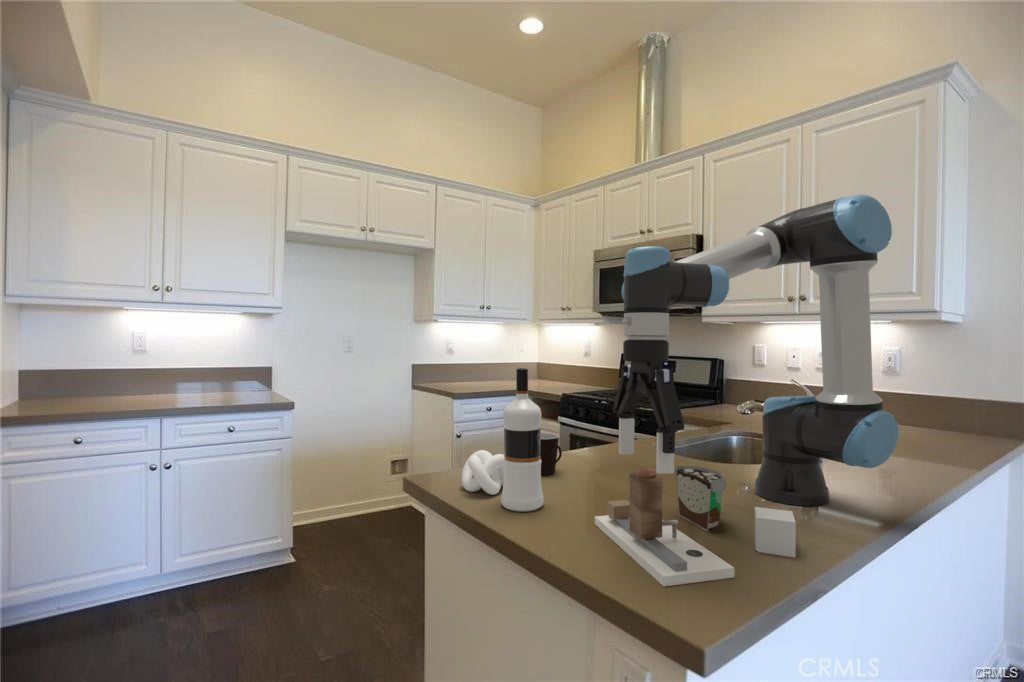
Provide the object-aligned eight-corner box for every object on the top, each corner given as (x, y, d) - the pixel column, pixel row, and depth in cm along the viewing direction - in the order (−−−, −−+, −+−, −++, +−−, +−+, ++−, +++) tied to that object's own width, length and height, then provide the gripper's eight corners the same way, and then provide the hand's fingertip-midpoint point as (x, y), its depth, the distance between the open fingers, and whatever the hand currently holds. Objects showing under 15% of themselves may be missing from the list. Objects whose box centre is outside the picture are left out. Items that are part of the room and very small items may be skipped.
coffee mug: (524, 469, 143) (524, 433, 143) (555, 468, 144) (555, 432, 144) (531, 481, 132) (531, 442, 131) (564, 480, 133) (564, 441, 132)
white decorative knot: (499, 481, 132) (499, 446, 132) (520, 494, 121) (520, 455, 121) (457, 486, 127) (457, 450, 127) (475, 500, 116) (475, 461, 116)
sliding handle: (670, 533, 92) (671, 465, 92) (683, 541, 88) (683, 470, 88) (629, 537, 90) (629, 467, 90) (640, 546, 86) (640, 473, 86)
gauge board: (650, 518, 104) (650, 493, 104) (734, 577, 79) (734, 544, 79) (594, 524, 102) (594, 498, 102) (663, 586, 76) (663, 552, 76)
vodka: (495, 501, 115) (495, 367, 115) (533, 497, 119) (533, 366, 118) (510, 515, 107) (509, 370, 106) (550, 509, 110) (550, 368, 110)
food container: (740, 531, 98) (740, 478, 98) (713, 534, 96) (713, 481, 96) (699, 510, 110) (699, 463, 110) (674, 513, 108) (674, 465, 108)
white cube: (791, 544, 92) (792, 511, 92) (795, 558, 86) (795, 522, 86) (754, 539, 94) (754, 506, 94) (755, 552, 89) (756, 517, 89)
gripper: (596, 338, 100) (595, 448, 100) (664, 338, 75) (662, 484, 76) (632, 338, 101) (630, 446, 102) (709, 339, 77) (707, 481, 77)
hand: (644, 462), depth 89 cm, fingers open, 13 cm apart
